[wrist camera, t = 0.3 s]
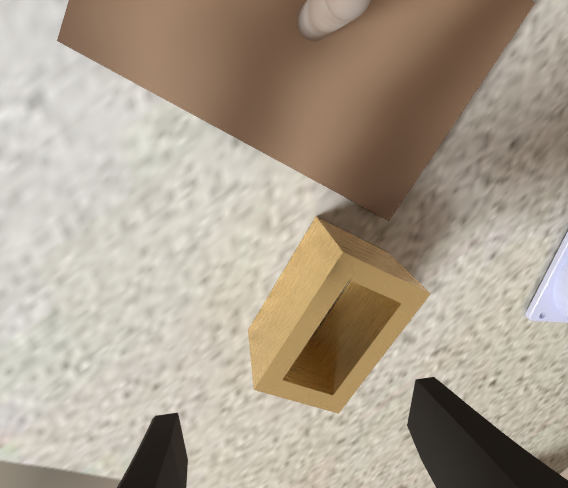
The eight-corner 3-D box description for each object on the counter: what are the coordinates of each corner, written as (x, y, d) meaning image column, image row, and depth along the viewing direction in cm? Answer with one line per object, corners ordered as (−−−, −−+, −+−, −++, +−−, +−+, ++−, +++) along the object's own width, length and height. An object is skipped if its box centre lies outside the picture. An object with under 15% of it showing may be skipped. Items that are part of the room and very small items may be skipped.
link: (316, 216, 18) (342, 252, 14) (387, 252, 19) (430, 293, 15) (248, 330, 20) (253, 389, 16) (317, 353, 22) (338, 413, 18)
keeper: (516, 8, 15) (664, -36, 10) (380, 214, 18) (441, 260, 13) (178, -320, 10) (129, -753, 5) (68, 44, 13) (-32, 11, 8)
